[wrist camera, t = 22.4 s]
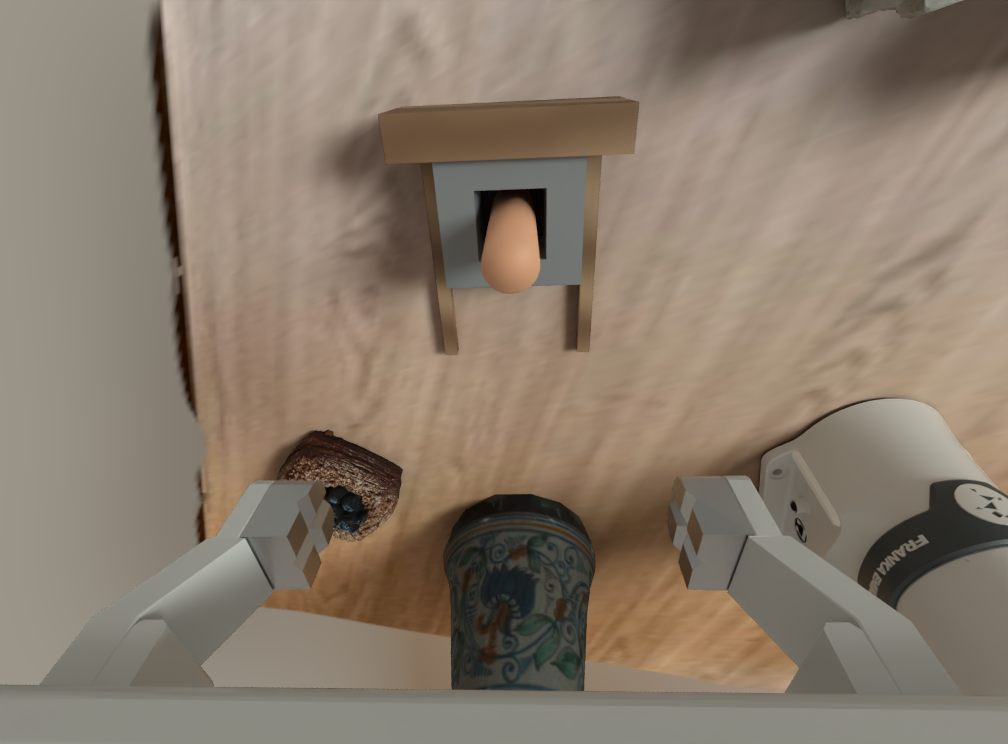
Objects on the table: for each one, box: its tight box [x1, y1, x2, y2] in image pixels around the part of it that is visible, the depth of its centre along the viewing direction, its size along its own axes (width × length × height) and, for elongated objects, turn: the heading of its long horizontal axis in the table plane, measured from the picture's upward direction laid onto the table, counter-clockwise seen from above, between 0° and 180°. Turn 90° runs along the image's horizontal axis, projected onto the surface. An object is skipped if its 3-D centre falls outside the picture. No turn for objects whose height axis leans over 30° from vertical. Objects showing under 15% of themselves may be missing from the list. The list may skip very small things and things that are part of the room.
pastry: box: [277, 430, 403, 542], centre depth 47 cm, size 11×12×6 cm
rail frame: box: [378, 96, 639, 355], centre depth 33 cm, size 18×14×6 cm
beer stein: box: [444, 494, 595, 691], centre depth 44 cm, size 16×19×25 cm
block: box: [432, 156, 587, 289], centre depth 31 cm, size 8×9×5 cm
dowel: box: [481, 189, 540, 294], centre depth 29 cm, size 3×3×12 cm
